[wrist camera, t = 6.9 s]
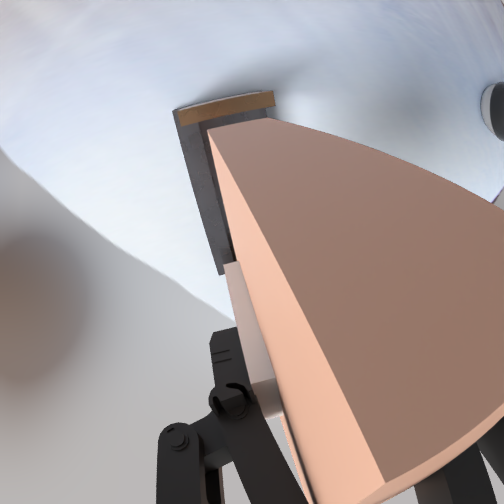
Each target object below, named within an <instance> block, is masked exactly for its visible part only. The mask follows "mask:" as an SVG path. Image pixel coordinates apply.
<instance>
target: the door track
mask: <svg viewBox="0 0 504 504" xmlns="http://www.w3.org/2000/svg"><path fill="white" fill-rule="evenodd" d="M272 106H275V100H274V95H273V91H256V92H250V93H245V94H240V95H235V96H230V97H225V98H220V99H216V100H211V101H207V102H203V103H199V104H195V105H191V106H187V107H184V108H180V109H177V110H173V111H172V112H173V116H174V120H175V124H176V128H177V132H178V136H179V140H180V143H181V147H182V151H183V155H184V158H185V162H186V166H187V169H188V173H189V176H190V180H191V184H192V187H193V191H194V194H195V198H196V201H197V205H198V208H199V212H200V215H201V218H202V222H203V225H204V228H205V232H206V235H207V238H208V242H209V245H210V248H211V252H212V255H213V258H214V261H215V264H216V268H217V271H218V274H219V275H223V274H225V271H224V266H223V265H224V264H228V263H232V262H236V261H237V258H236V254H235V250H234V246H233V242H232V237H231V233H230V229H229V225H228V220H227V216H226V212H225V207H224V203H223V199H222V194H221V190H220V186H219V181H218V177H217V172H216V168H215V164H214V159H213V155H212V150H211V146H210V141H209V136H208V132H207V130H208V129H212V128H217V127H221V126H226V125H231V124H235V123H241V122H246V121H251V120H257V119H262V118H267V116H266V110H265V108H266V107H272Z"/></svg>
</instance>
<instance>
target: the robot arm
mask: <svg viewBox="0 0 504 504" xmlns="http://www.w3.org/2000/svg"><path fill="white" fill-rule="evenodd" d="M223 266H224V271H225V275H226V280H227V284H228V289H229V293H230V298H231V302H232V307H233V311H234V316H235V320H236V324H237V327H233V328H229V329H225V330H221V331H217V332H213V334H212V337H211V340H210V343H209V344H210V352H211V360H212V367H213V373H214V380H215V387H214V388H213V389H212V390H211V392H210V395H209V406H210V407H211V409H212V411H211V412H210V414H208V415H207V416H206V417H204V418H202V419H200V420H199V421H197V422H194V423H193V424H190V425H188V424H186V423H179V422H178V423H174V424H170V425H169V426H167V427H166V428H164V430H163V431H162V432H161V433H160V436H159V440H158V455H157V483H156V484H157V485H156V488H157V489H156V504H225V499H224V488H223V476H222V466H224V465H226V464H228V463H230V462H232V461H233V462H234V464H235V467H236V469H237V472H238V474H239V477H240V479H241V481H242V484H243V486H244V489H245V491H246V493H247V495H248V498H249V500H250V502H251V504H309V503H308V501H307V499H306V497H305V496H304V494H303V492H302V490H301V488H300V486H299V485H298V483H297V481H296V479H295V477H294V475H293V473H292V472H291V470H290V468H289V466H288V464H287V462H286V460H285V458H284V456H283V455H282V452H281V451H280V448H279V447H278V444H277V442H276V440H275V439H274V437H273V434H272V432H271V430H270V428H269V426H268V424H267V422H266V420H268V419H272V418H275V417H279V416H283V410H282V405H281V401H280V396H279V391H278V387H277V382H276V377H275V374H274V371H273V368H272V365H271V362H270V359H269V355H268V352H267V349H266V346H265V343H264V340H263V337H262V333H261V330H260V327H259V324H258V321H257V318H256V314H255V311H254V308H253V305H252V302H251V298H250V295H249V292H248V289H247V286H246V282H245V279H244V276H243V273H242V269H241V266H240V263H239V261H236V262H232V263H228V264H224V265H223ZM480 451H481V453H482V454H483V455H484V457H485V458H486V460H487V461H488V462H489V464H490V465H491V467H492V468H493V470H494V471H495V473H496V474H497V475H498V477H499V478H500V480H501V481H502V483H503V484H504V416H503V417H502V418H501V419H500V420H499V421H498V422H497V423H496V424H495V425H494V426H493V427H492V428H491V429H489V430H488V431H487V432H486V433H485V434H484V435H483V436H482V437H480V438H479V439H478V440H477V441H476V442H475V443H473V444H472V445H471V446H470V447H468V448H467V449H466V450H465V451H463V452H462V453H461V454H460V455H458V456H457V457H456V458H454V459H453V460H452V461H450V462H449V463H447V464H446V465H445V466H443V467H442V468H440V469H439V470H437V471H436V472H434V473H433V474H431V475H430V476H428V477H427V478H425V479H424V480H422V481H420V482H419V483H417V484H416V485H414V487H415V491H416V495H417V499H418V503H419V504H497V501H496V498H495V494H494V491H493V488H492V485H491V481H490V478H489V475H488V472H487V469H486V467H485V464H484V461H483V458H482V456H481V453H480Z"/></svg>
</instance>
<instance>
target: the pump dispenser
mask: <svg viewBox="0 0 504 504" xmlns="http://www.w3.org/2000/svg"><path fill="white" fill-rule="evenodd" d="M481 112H482V116H483V119H484V122H485V124H486V126H487V127H488V128H489V130H490V131H491V132H492V133H493V134H494V135H496V136H497V137H498V139H500V140H501V141H504V82H499V83H497V84H493V85H490V86H489V87H488V88H486V90H485V91H484V93H483V95H482V99H481Z"/></svg>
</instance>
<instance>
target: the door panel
mask: <svg viewBox="0 0 504 504" xmlns="http://www.w3.org/2000/svg"><path fill="white" fill-rule="evenodd" d="M207 132H208V136H209V141H210V146H211V150H212V155H213V159H214V164H215V168H216V172H217V177H218V181H219V186H220V190H221V194H222V199H223V203H224V207H225V212H226V216H227V220H228V225H229V229H230V233H231V237H232V242H233V246H234V250H235V254H236V258H237V261H239V263H240V266H241V269H242V273H243V276H244V279H245V282H246V286H247V289H248V292H249V295H250V298H251V302H252V305H253V308H254V311H255V314H256V318H257V321H258V324H259V327H260V330H261V333H262V337H263V340H264V343H265V346H266V349H267V352H268V355H269V359H270V362H271V365H272V368H273V371H274V374H275V377H276V382H277V387H278V391H279V396H280V401H281V405H282V410H283V416H280V419H281V422H282V425H283V428H284V431H285V435H286V438H287V441H288V444H289V447H290V450H291V453H292V457H293V459H294V462H295V466H296V469H297V472H298V475H299V478H300V481H301V484H302V487H303V490H304V493H305V496H306V499H307V501H308V503H309V504H381V503H383V502H385V501H387V500H389V499H391V498H393V497H394V496H396V495H398V494H400V493H401V492H404V491H405V490H407V489H409V488H411V487H412V486H414V485H416V484H417V483H419V482H420V481H422V480H424V479H425V478H427V477H428V476H430V475H431V474H433V473H434V472H436V471H437V470H439V469H440V468H442V467H443V466H445V465H446V464H447V463H449V462H450V461H452V460H453V459H454V458H456V457H457V456H458V455H460V454H461V453H462V452H463V451H465V450H466V449H467V448H468V447H470V446H471V445H472V444H473V443H475V442H476V441H477V440H478V439H479V438H480V437H482V436H483V435H484V434H485V433H486V432H487V431H488V430H489V429H491V428H492V427H493V426H494V425H495V424H496V423H497V422H498V421H499V420H500V419H501V418H502V417H503V416H504V211H503V210H502V209H500V208H499V207H497V206H495V205H493V204H492V203H490V202H488V201H487V200H485V199H483V198H481V197H479V196H478V195H476V194H474V193H472V192H470V191H468V190H466V189H464V188H462V187H461V186H459V185H457V184H455V183H453V182H451V181H449V180H446V179H444V178H442V177H440V176H438V175H436V174H434V173H432V172H429V171H427V170H425V169H423V168H420V167H418V166H416V165H413V164H411V163H409V162H406V161H404V160H402V159H399V158H397V157H394V156H391V155H389V154H386V153H384V152H381V151H378V150H376V149H373V148H370V147H367V146H365V145H362V144H359V143H356V142H353V141H350V140H347V139H344V138H341V137H338V136H334V135H331V134H328V133H325V132H321V131H318V130H314V129H311V128H307V127H304V126H300V125H296V124H292V123H288V122H284V121H280V120H276V119H272V118H262V119H257V120H251V121H246V122H241V123H235V124H231V125H226V126H221V127H217V128H212V129H208V130H207Z"/></svg>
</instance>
